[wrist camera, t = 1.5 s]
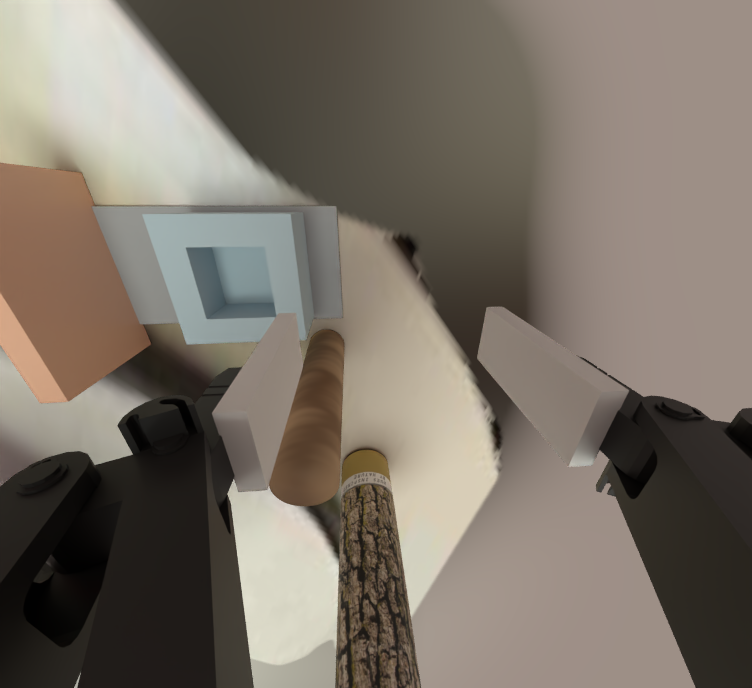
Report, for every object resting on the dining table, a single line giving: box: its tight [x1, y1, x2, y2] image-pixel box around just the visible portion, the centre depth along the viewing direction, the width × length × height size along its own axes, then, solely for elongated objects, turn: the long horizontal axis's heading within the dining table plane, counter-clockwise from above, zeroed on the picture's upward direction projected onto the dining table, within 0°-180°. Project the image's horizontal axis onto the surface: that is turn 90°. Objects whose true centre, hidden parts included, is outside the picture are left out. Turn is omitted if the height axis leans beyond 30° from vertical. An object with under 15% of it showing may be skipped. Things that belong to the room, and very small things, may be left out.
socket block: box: [142, 212, 314, 344], centre depth 24 cm, size 10×10×6 cm
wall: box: [0, 163, 151, 403], centre depth 22 cm, size 2×16×10 cm, turn 0°
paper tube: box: [335, 450, 421, 688], centre depth 30 cm, size 7×7×25 cm
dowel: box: [269, 330, 345, 506], centre depth 24 cm, size 4×4×18 cm
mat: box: [91, 206, 343, 324], centre depth 27 cm, size 23×11×1 cm, turn 90°
